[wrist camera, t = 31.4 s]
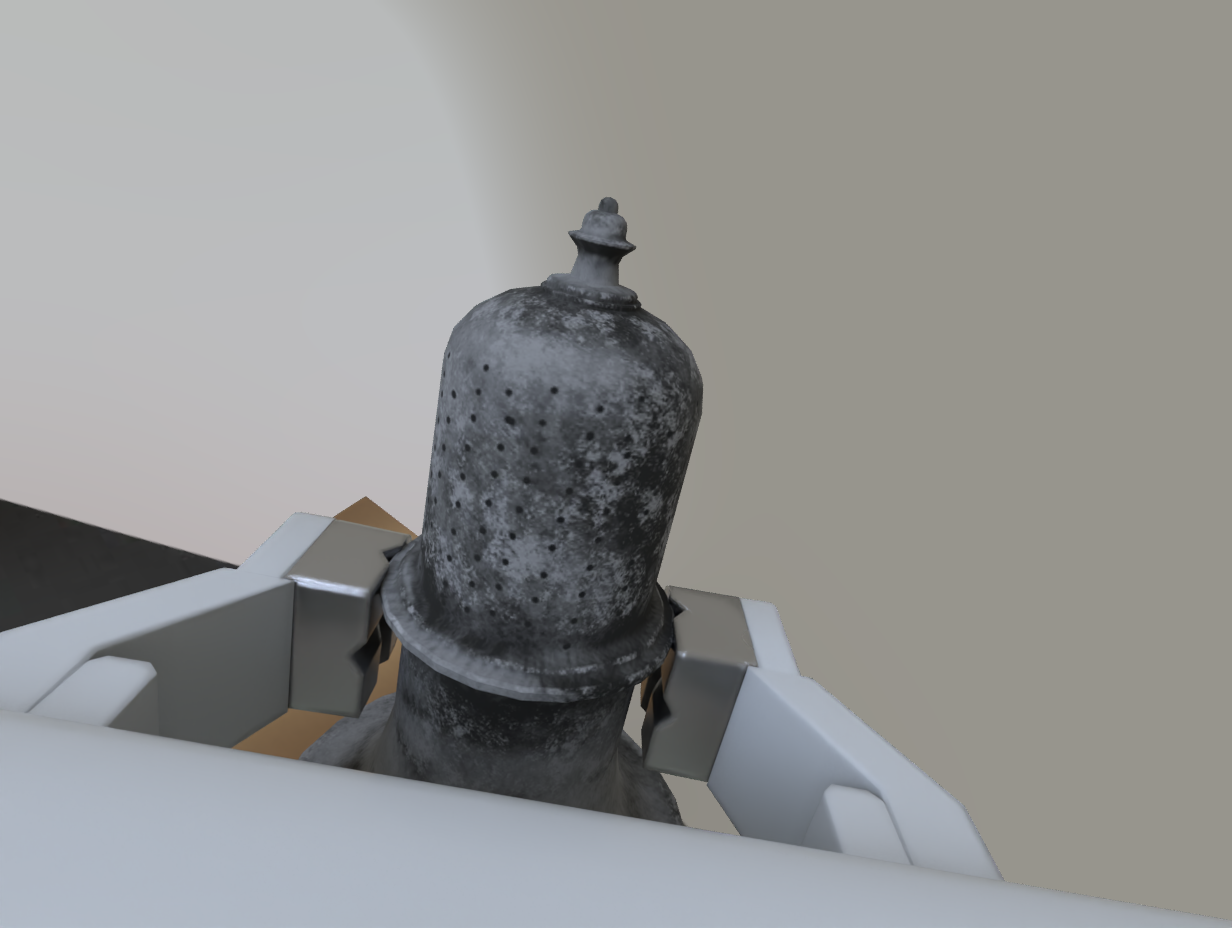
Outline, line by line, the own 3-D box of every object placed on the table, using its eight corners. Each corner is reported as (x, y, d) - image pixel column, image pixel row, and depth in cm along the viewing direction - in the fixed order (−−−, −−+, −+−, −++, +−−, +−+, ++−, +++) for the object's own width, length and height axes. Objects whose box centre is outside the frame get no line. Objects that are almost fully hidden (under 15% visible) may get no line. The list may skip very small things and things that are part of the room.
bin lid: (103, 677, 20) (111, 658, 20) (357, 508, 32) (365, 495, 31) (509, 986, 20) (524, 973, 20) (614, 706, 32) (625, 694, 31)
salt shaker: (292, 1366, 8) (401, 174, 3) (228, 888, 12) (235, 109, 7) (708, 1075, 11) (1046, 298, 6) (538, 785, 15) (671, 203, 11)
